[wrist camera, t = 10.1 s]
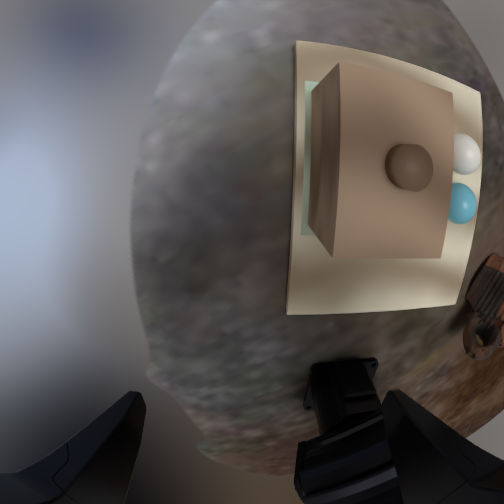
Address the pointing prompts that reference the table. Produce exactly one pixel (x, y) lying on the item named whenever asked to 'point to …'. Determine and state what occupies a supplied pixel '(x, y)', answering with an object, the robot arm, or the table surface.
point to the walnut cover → (380, 164)
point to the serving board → (371, 269)
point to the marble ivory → (465, 154)
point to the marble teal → (461, 204)
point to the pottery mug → (486, 310)
